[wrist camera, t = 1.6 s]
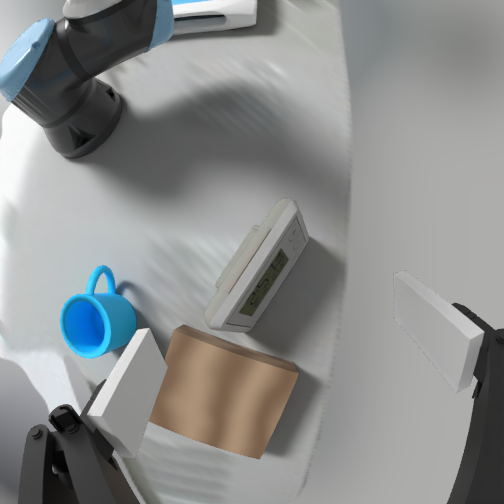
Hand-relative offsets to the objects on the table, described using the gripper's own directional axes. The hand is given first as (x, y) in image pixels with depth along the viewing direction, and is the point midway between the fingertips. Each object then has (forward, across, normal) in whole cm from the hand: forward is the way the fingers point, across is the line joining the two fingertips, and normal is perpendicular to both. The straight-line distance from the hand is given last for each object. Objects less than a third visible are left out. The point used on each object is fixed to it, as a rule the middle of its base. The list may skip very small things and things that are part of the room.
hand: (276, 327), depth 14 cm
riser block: (+18, -10, -19) cm, 28 cm away
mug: (+22, -23, -6) cm, 33 cm away
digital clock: (+24, -1, -6) cm, 25 cm away
